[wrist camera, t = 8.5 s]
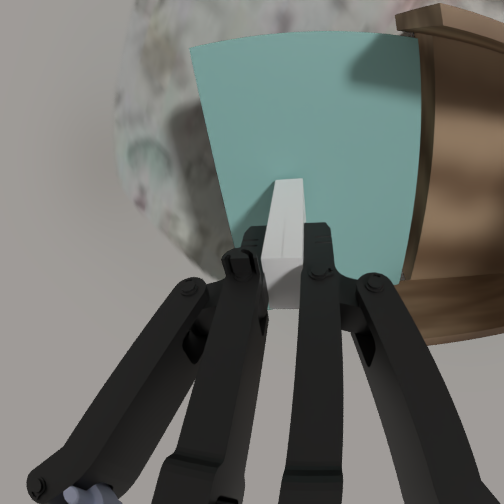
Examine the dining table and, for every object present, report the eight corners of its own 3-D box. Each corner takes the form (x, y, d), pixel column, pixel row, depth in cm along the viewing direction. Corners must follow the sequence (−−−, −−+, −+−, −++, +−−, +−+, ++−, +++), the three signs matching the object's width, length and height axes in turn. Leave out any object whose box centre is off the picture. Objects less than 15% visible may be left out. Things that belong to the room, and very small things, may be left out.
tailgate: (394, 38, 13) (195, 50, 13) (417, 38, 10) (189, 48, 11) (386, 262, 23) (248, 287, 24) (398, 284, 21) (250, 312, 22)
